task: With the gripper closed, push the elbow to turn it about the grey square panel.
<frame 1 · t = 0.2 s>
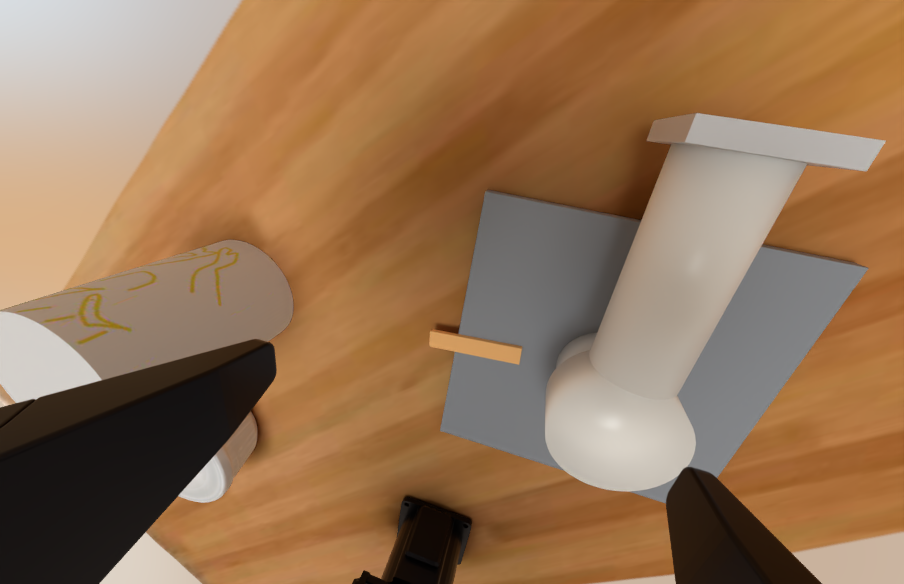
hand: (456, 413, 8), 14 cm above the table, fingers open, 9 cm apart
grey square panel: (598, 362, 22), on the table
cup: (249, 289, 27), on the table
ramekin: (221, 412, 35), on the table
elbow: (650, 331, 16), point 5 cm above the table, hinge at 0.0°
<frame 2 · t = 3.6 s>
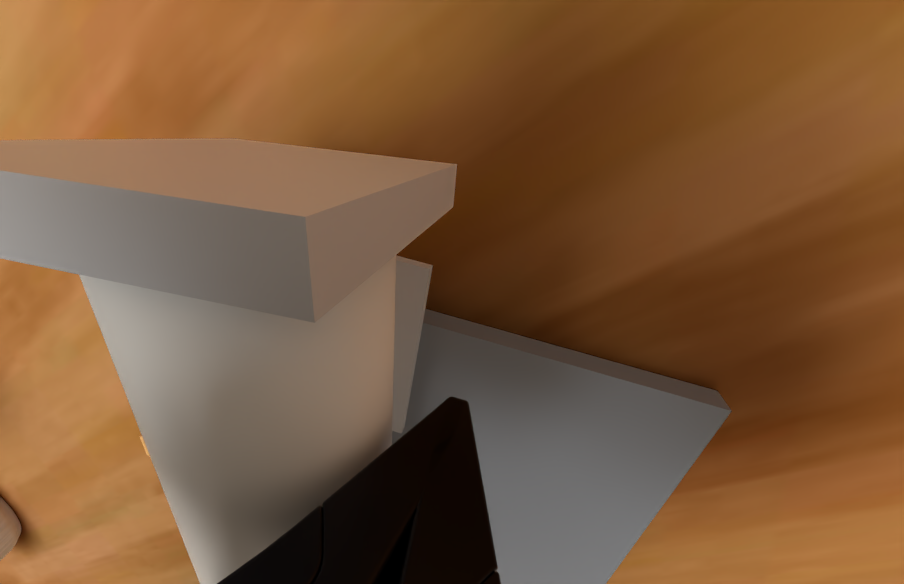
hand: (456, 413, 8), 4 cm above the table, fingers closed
grey square panel: (383, 489, 15), on the table
elbow: (304, 528, 8), point 5 cm above the table, hinge at 5.8°, touching gripper
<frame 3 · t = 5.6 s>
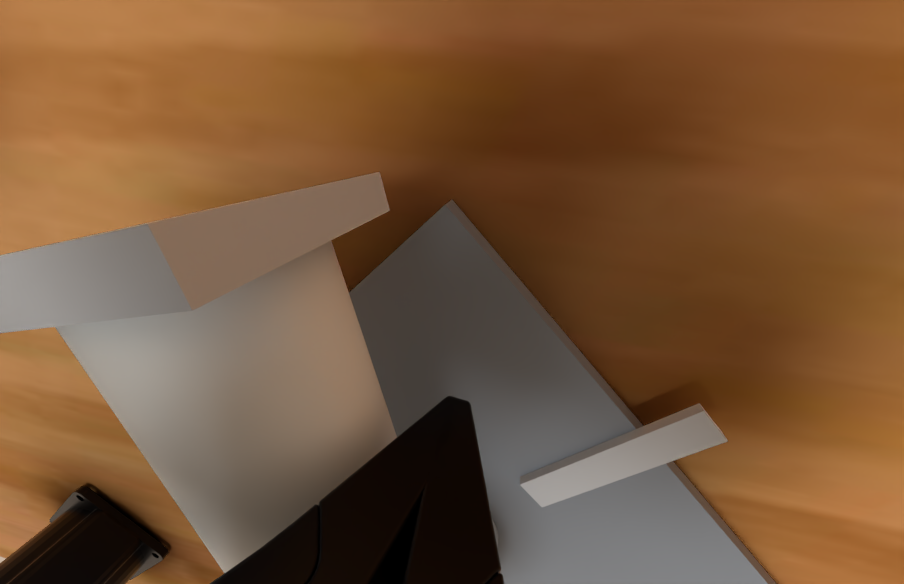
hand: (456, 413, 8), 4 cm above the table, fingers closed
grey square panel: (438, 507, 15), on the table
elbow: (345, 547, 9), point 5 cm above the table, hinge at 59.5°, touching gripper
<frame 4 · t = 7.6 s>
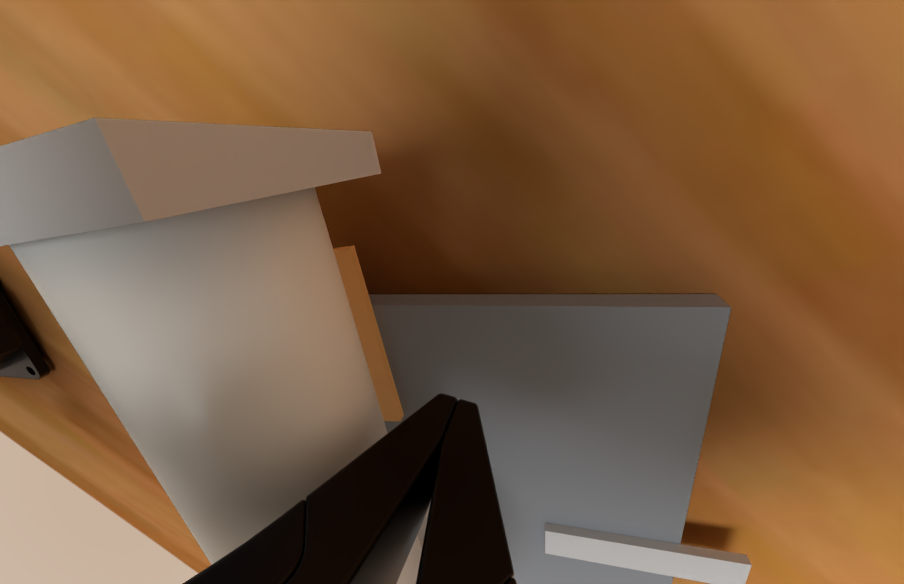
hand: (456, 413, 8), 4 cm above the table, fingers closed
grey square panel: (425, 494, 15), on the table
elbow: (323, 522, 8), point 5 cm above the table, hinge at 93.8°
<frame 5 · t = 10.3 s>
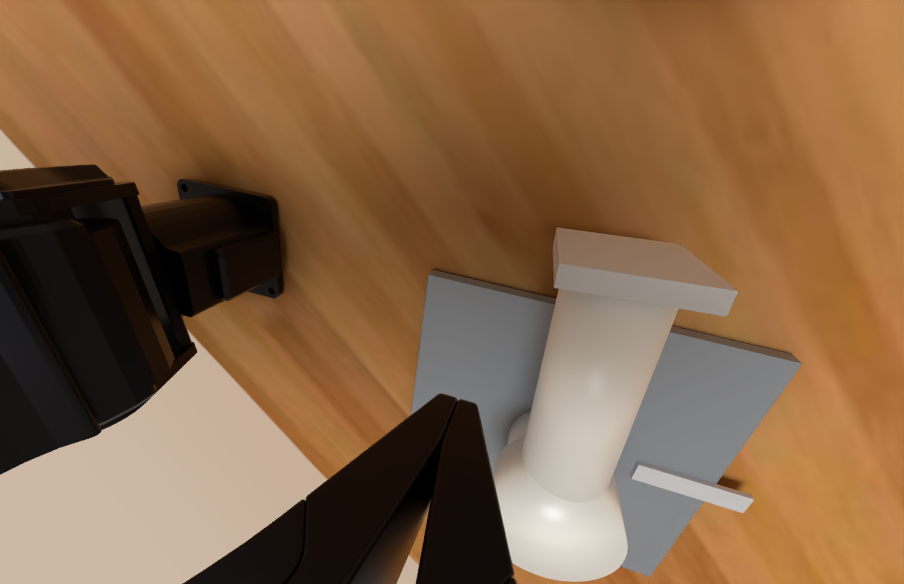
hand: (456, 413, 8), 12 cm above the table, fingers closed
grey square panel: (551, 432, 22), on the table
elbow: (574, 428, 16), point 5 cm above the table, hinge at 93.8°
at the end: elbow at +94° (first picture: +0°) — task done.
